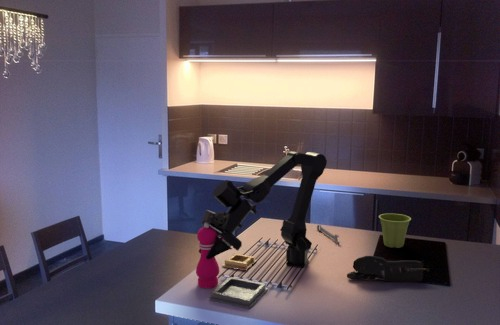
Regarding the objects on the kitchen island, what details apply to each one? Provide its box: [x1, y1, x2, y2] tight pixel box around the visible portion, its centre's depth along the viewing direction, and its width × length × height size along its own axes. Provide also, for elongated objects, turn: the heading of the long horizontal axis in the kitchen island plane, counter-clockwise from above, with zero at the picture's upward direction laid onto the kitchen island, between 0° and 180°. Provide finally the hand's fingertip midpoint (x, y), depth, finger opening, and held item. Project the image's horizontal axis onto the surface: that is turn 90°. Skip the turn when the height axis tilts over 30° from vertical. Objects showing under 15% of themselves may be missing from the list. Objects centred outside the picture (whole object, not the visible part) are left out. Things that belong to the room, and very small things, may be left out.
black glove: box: [346, 255, 430, 283], centre depth 143 cm, size 7×25×8 cm, turn 93°
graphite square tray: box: [208, 276, 269, 310], centre depth 132 cm, size 13×13×2 cm
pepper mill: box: [195, 222, 220, 289], centre depth 138 cm, size 7×7×20 cm
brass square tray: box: [221, 253, 258, 271], centre depth 155 cm, size 9×9×2 cm
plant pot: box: [378, 213, 412, 249], centre depth 173 cm, size 12×12×11 cm
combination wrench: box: [316, 224, 341, 245], centre depth 184 cm, size 4×1×20 cm
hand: (203, 255), depth 137 cm, fingers closed on pepper mill, 5 cm apart
